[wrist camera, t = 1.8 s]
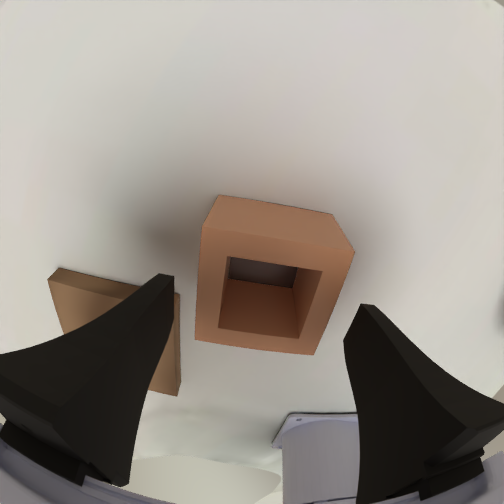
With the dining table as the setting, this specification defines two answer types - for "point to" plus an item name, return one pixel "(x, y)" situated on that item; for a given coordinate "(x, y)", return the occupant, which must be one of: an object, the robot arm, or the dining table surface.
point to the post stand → (100, 301)
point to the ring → (262, 295)
